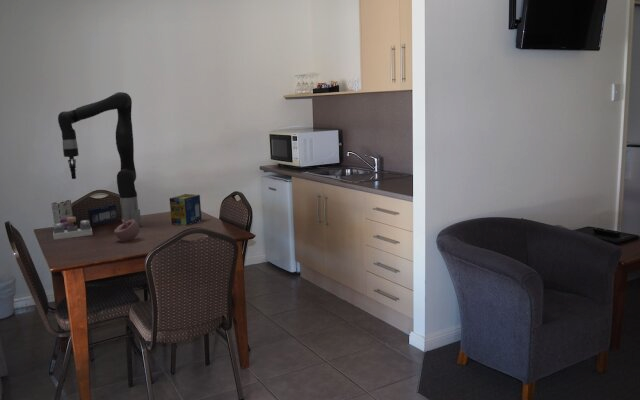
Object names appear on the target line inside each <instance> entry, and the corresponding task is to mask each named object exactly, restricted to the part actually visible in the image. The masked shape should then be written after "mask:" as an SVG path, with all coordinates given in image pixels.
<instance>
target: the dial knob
mask: <svg viewBox="0 0 640 400" xmlns="http://www.w3.org/2000/svg"><path fill="white" fill-rule="evenodd" d="M76 221H77V218H76V216H73V217H67V223H70V225H71V226H73V222H74V223H76Z"/></svg>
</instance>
